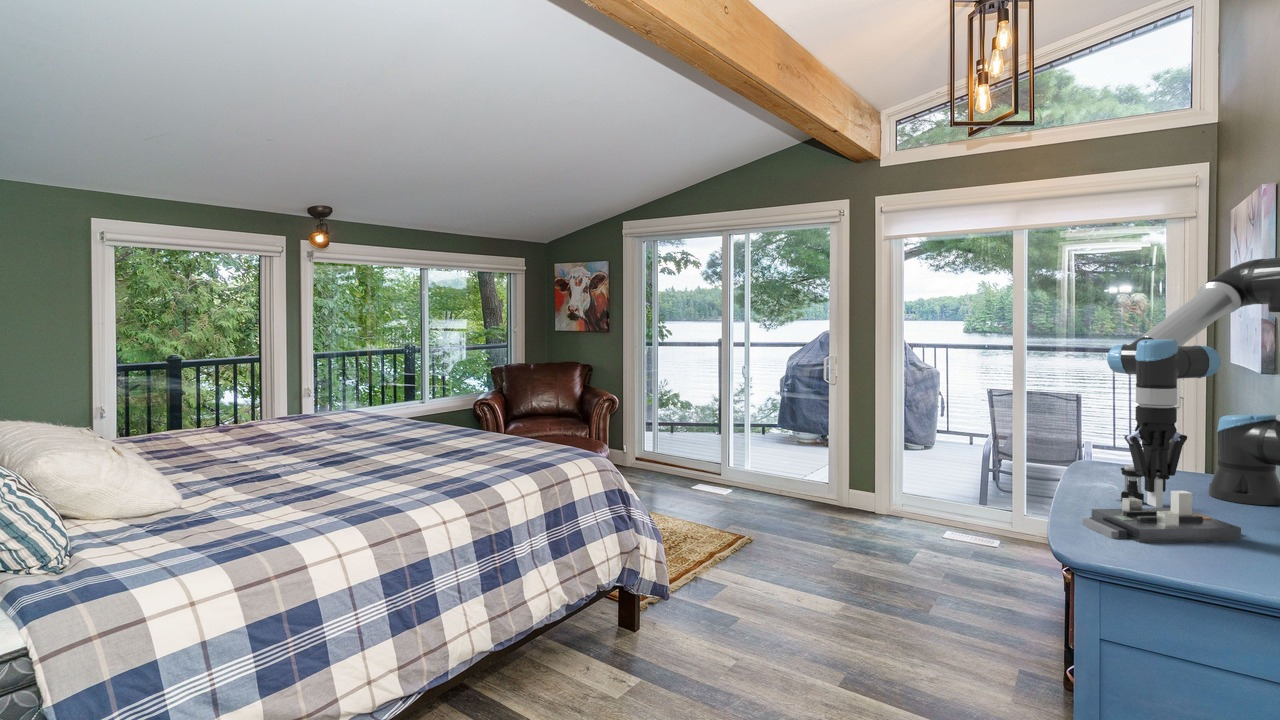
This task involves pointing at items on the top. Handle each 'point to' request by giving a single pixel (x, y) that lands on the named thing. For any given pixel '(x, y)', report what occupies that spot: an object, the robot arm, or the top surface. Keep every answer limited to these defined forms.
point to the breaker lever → (1181, 502)
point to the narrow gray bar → (1105, 528)
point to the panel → (1171, 532)
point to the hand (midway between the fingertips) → (1154, 505)
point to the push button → (1131, 484)
